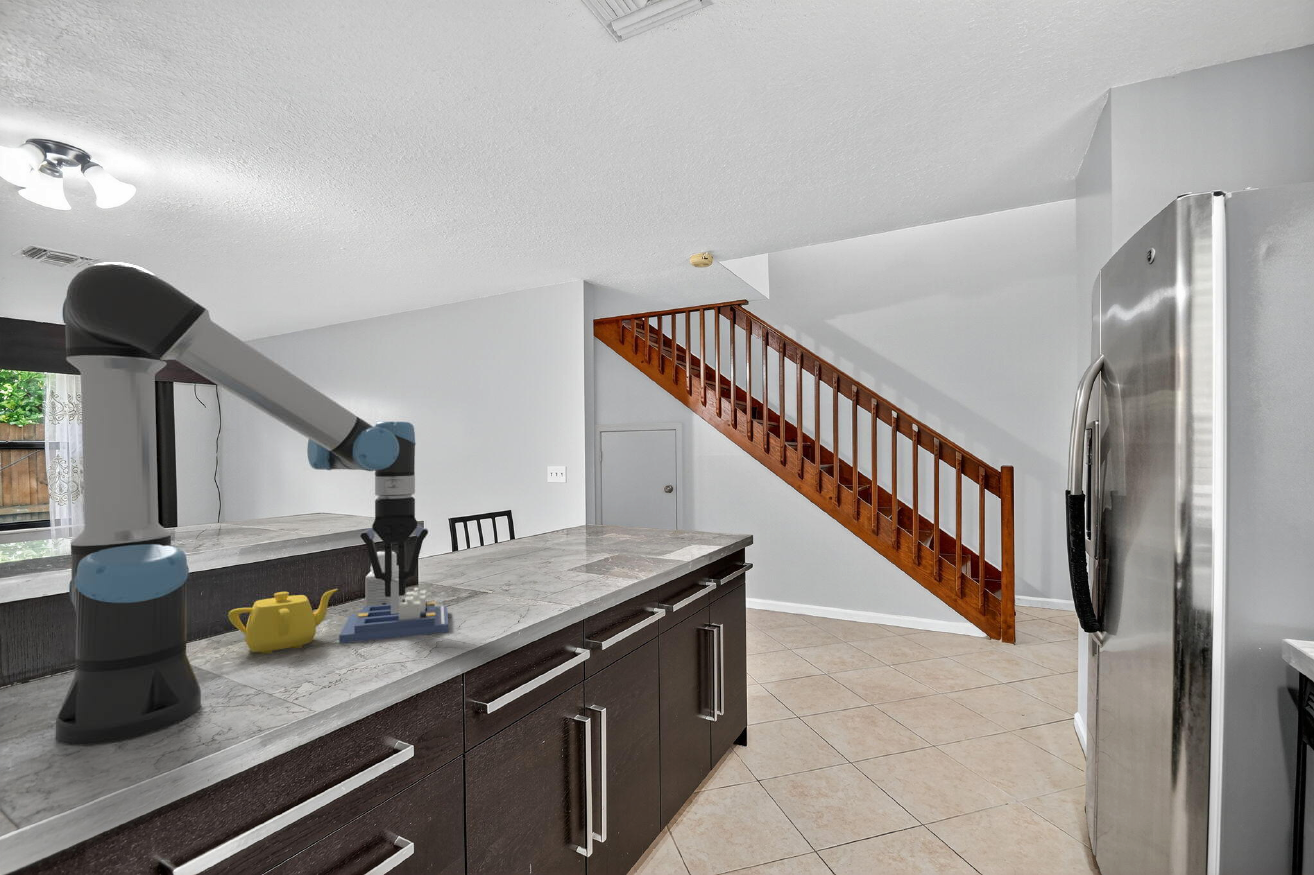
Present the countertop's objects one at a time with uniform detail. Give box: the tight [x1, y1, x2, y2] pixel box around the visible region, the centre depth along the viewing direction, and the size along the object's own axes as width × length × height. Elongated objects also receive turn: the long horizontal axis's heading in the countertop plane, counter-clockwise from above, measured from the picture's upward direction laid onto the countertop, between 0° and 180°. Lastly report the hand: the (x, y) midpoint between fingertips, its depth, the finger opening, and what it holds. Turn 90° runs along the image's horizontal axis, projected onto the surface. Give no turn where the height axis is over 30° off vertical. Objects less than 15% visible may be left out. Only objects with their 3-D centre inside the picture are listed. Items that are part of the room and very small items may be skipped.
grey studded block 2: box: [399, 598, 420, 620], centre depth 123 cm, size 4×3×5 cm
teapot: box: [227, 588, 339, 655], centre depth 115 cm, size 14×13×10 cm
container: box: [364, 549, 405, 607], centre depth 146 cm, size 8×8×13 cm
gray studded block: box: [404, 592, 425, 612], centre depth 128 cm, size 4×3×5 cm
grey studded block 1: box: [405, 587, 427, 606], centre depth 133 cm, size 4×3×5 cm
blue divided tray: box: [338, 600, 449, 644], centre depth 127 cm, size 20×16×3 cm
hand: (395, 611), depth 122 cm, fingers closed
